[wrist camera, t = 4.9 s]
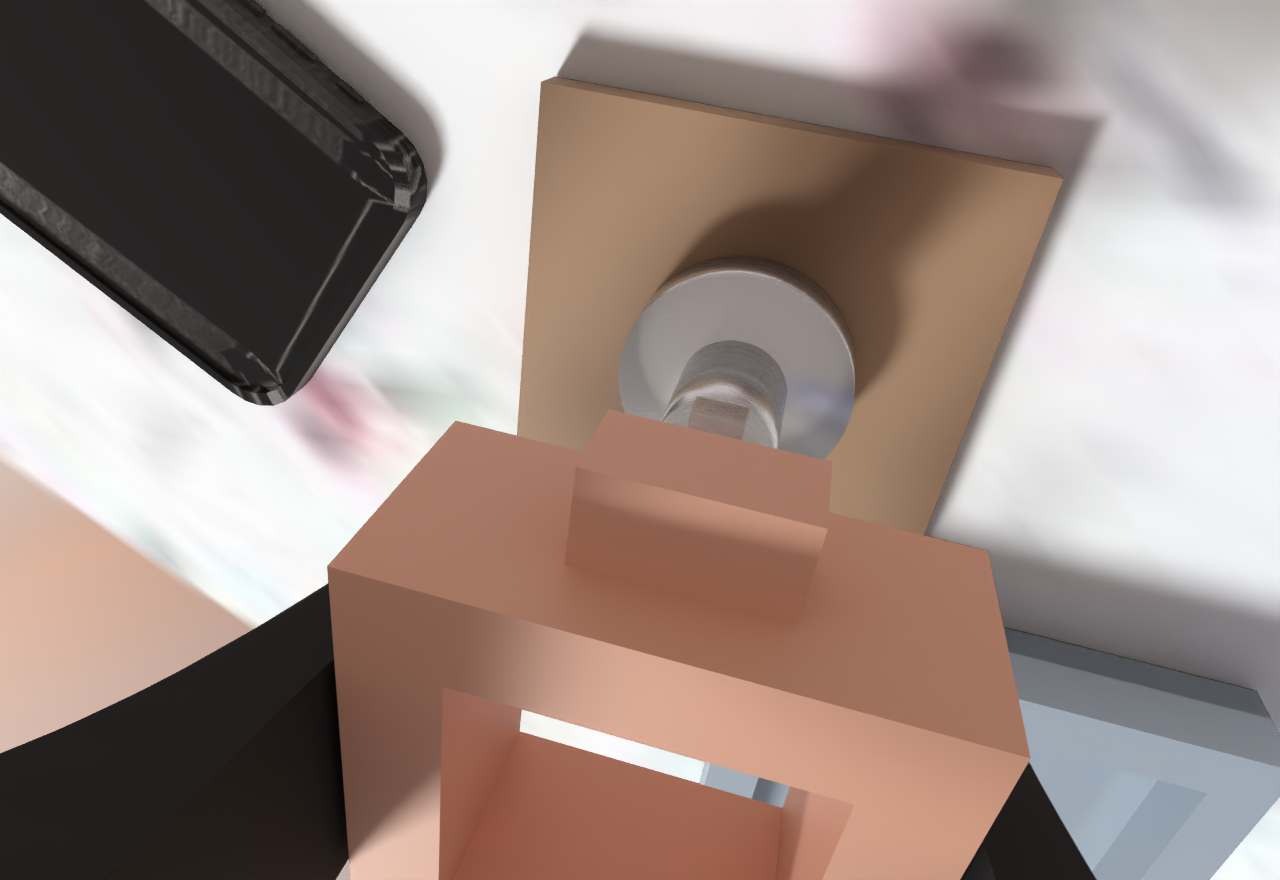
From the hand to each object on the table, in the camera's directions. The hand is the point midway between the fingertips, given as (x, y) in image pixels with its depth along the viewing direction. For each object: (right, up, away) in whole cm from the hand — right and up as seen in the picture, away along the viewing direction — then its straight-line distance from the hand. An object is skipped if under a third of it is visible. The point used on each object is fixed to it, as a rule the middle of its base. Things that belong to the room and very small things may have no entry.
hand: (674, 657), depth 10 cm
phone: (-12, +11, +8) cm, 18 cm away
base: (+2, +5, +7) cm, 9 cm away
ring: (0, 0, 0) cm, 0 cm away
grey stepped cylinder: (+2, +5, +7) cm, 9 cm away
